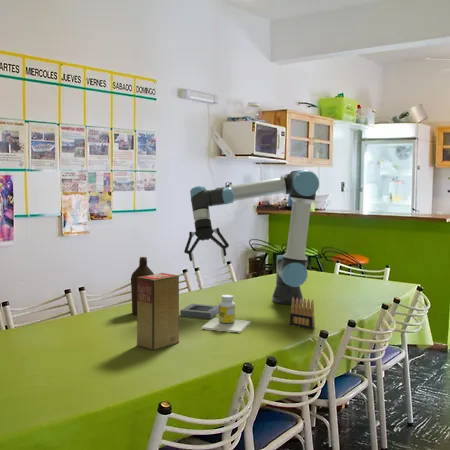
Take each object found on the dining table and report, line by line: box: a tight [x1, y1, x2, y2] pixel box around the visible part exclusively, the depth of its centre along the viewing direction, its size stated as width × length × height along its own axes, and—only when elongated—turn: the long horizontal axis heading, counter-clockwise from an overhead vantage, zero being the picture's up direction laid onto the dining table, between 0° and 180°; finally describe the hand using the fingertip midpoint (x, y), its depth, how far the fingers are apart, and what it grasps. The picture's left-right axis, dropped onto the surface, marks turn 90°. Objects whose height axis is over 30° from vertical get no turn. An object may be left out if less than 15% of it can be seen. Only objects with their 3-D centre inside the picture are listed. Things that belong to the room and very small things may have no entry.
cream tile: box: [201, 317, 252, 334], centre depth 229 cm, size 16×16×1 cm
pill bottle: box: [218, 294, 236, 326], centre depth 229 cm, size 6×6×12 cm
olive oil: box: [130, 256, 155, 316], centre depth 247 cm, size 11×11×25 cm
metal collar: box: [179, 303, 219, 320], centre depth 249 cm, size 14×14×2 cm
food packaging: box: [136, 272, 180, 351], centre depth 202 cm, size 13×9×25 cm
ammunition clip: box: [289, 297, 316, 330], centre depth 230 cm, size 11×2×12 cm, turn 54°
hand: (209, 265), depth 252 cm, fingers open, 13 cm apart
